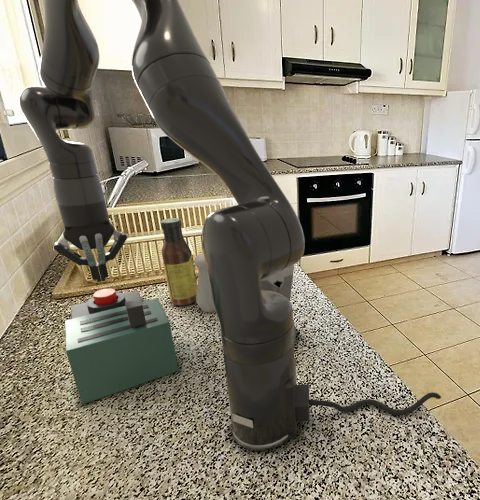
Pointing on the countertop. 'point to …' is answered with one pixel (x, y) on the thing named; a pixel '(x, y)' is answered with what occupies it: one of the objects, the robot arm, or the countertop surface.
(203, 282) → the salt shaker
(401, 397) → the countertop surface
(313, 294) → the countertop surface
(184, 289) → the sauce bottle
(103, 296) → the button
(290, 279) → the coffeepot
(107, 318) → the toaster
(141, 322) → the toaster slider
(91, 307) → the button base
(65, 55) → the robot arm
